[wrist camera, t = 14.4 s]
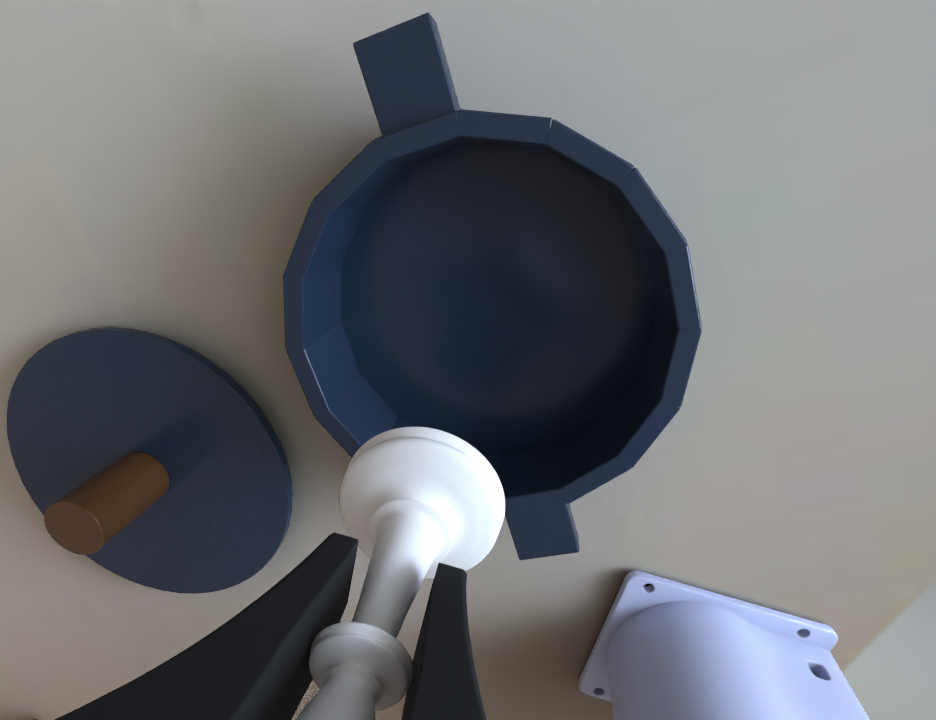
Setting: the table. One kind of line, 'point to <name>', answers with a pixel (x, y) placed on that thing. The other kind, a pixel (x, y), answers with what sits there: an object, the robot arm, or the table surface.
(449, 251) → the pan
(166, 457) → the pan lid
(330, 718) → the chess piece
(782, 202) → the table surface
